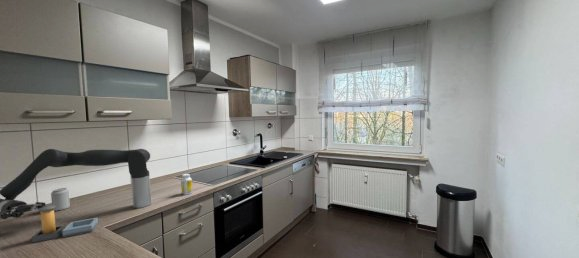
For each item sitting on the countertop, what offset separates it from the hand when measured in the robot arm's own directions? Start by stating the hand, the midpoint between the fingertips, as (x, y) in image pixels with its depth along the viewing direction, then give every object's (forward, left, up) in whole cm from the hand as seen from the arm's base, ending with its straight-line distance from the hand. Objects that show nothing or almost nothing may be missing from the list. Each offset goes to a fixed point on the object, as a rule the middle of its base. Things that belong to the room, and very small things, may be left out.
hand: (32, 211), depth 108 cm
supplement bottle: (-25, +66, -10) cm, 72 cm away
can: (-36, -2, -10) cm, 38 cm away
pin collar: (+8, +8, -10) cm, 15 cm away
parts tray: (+8, +19, -10) cm, 23 cm away
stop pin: (+8, +8, -10) cm, 15 cm away
